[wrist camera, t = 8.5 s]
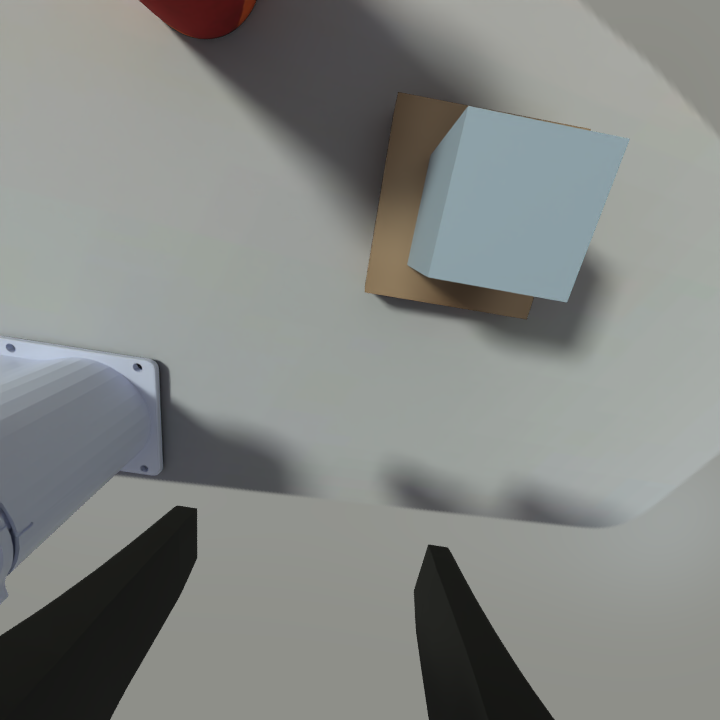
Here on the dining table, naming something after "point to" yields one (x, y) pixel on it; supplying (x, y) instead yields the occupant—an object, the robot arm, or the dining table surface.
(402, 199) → the base
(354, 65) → the dining table surface
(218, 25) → the paper cup
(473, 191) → the block
